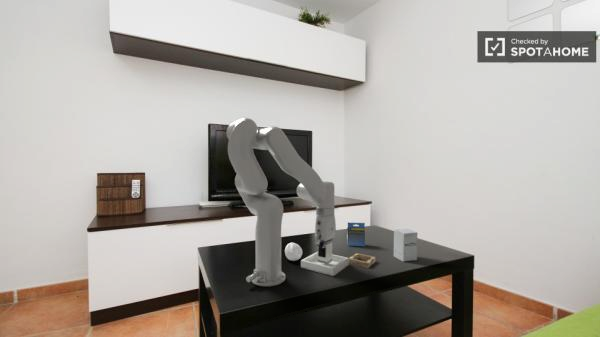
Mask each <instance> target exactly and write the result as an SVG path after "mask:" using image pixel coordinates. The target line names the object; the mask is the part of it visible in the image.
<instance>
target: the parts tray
mask: <svg viewBox="0 0 600 337" xmlns="http://www.w3.org/2000/svg"><path fill="white" fill-rule="evenodd" d="M349 258H350V257H345V256H341V255H338V254H337V255H336V254H333V253H332V262H330V263H328V264H324V263H320V262H318V251H316V252H314V253H312V254H310V255H308V256H307V257H305V258H303V259H301V260H300V268H301V269H305V270H309V271H312V272H314V273H315V272H316V273H319V274H323V275H327V276H330V277H334V276H336V275H337V274H338V273H340V272H341V271H342V270H344V269H346V267H348V266H349V265H350V264H349Z"/></svg>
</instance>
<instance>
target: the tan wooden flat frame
mask: <svg viewBox="0 0 600 337" xmlns="http://www.w3.org/2000/svg"><path fill="white" fill-rule="evenodd" d="M348 258H349V265H352V266H358V267H362V268H366V269H369V268H370V267H372V265H374V264H375V263H376V261H377V260H376V258H377V256H372V255H368V254H363V253H359V252H356V253H355V254H353V255H352V256H350V257H348Z"/></svg>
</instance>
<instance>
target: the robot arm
mask: <svg viewBox="0 0 600 337" xmlns="http://www.w3.org/2000/svg"><path fill="white" fill-rule="evenodd" d="M226 138H227V139H228V143H227V155H228V159H229V161H230V164H231V166H232V167H233V170H234V172H235V173H236V175H235V178H234V185H235V187H236V190H237V192H238V193H239V196H240V197H241V198H242V200H243V203H244V205H245V206H246V208H247V209H248V210H249V212H250V213H251V214H252V215H254V216H256V224H255V231H254V232H255V235H254V236H255V239H254V240H255V268H254V269H253V273H252V274H249V275H248V276H246V278H245V280H246V282H247V283H250V282H251V283H252V284H254V285H256V286H259V287H273V286H274V287H275V286H278V285H280V284H282V283H284V282H285V280H286V273H284V272H283V271H282V224H283V223H282V222H283V216H284V204H283V202H282V200H281V199H280V198H279V197H278V196H277V195H274V194H270V193H267V192H266V191H267V188H268V185H269V184H268V180H267V177H266V175H265V173H264V171H263V169H262V167H261V166H260V164H259V161H258V160H257V157H256V155H255V153H254V150H255V149H256V150H260V151H261V150H263V151H268V152H269V153H270V155H271V156H272V157H273V160H275V162H276V164H277V165H278V166H279V167H280V169H281V171H283V172H284V173H285V174H287V175H289V176H291V177H293V178H294V179H295V180H297V181H298V183H299V184H298V185H297V187H296V195H297V196H298V197H299V199H302V200H304V201H309V202H312V203H315V213H316V214H315V216H316V218H315V226H314V227H315V228H314V231H315V232H314V236H315V237H314V238H315V241H314V243H315V244H316V245H317V252H318V256H319V257H324V258H325V257H326V248H325V241H328V240H330V239H331V240H332V241H333V238H335V237H336V236H337V227H336V226H337V224H336V216H335V183H333V182H332V181H323V180H322V178H321V177H320V175H319V174H318V173H317V171H316V170H315V169H314V168H313V167H312V166H310V164H308V163H307V161H305V160H304V159H303V158H302V157H301V156H300V155H299V154H298V152H297V151H296V149H295V147H294V146H293V144H292V143H291V141H290V139H289V138H288V137H287V135H286V133H285V132H284V131H283V130H282V129H281V128H280V127H279V126H269V127H266V128H264V127H263V128H262V127H259V126H258V125H257V123H256V122H255V121H254V120H253V119H251V118H248V117H244V118H240V119H237V120H236V121H233V122H232V123H230V124H229V125H228V126H227V129H226ZM321 241H323V244H322V242H321Z"/></svg>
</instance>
